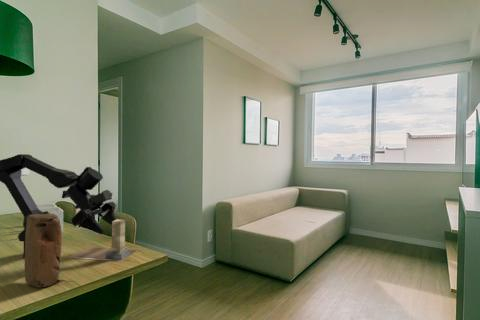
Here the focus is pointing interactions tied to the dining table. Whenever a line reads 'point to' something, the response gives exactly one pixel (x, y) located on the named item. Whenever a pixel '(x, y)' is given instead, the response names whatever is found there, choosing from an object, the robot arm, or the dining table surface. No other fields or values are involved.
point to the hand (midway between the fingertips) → (110, 229)
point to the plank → (97, 254)
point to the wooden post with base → (118, 241)
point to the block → (42, 249)
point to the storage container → (52, 211)
